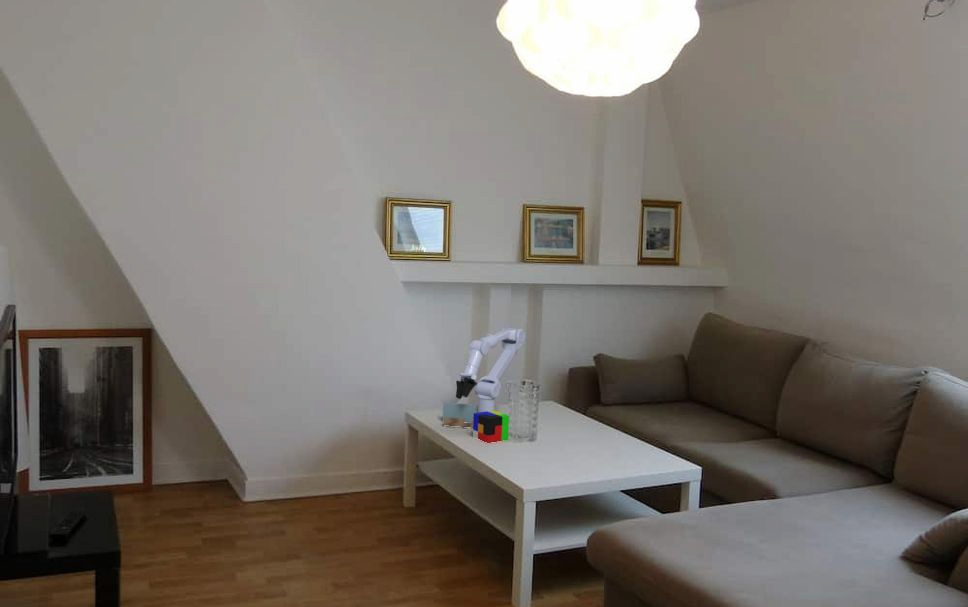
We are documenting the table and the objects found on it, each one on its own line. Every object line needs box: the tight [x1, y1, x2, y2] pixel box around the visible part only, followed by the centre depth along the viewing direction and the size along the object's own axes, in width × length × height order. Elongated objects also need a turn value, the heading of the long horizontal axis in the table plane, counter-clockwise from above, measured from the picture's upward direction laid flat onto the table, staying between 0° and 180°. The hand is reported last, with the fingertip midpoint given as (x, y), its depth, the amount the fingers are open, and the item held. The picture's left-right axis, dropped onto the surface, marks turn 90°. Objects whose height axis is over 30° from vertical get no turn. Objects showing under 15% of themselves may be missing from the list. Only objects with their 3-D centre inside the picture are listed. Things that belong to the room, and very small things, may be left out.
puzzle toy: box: [472, 410, 510, 444], centre depth 360 cm, size 10×10×10 cm
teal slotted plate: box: [442, 402, 478, 423], centre depth 383 cm, size 14×2×8 cm, turn 80°
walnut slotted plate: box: [443, 417, 473, 428], centre depth 376 cm, size 20×2×4 cm, turn 80°
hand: (461, 397), depth 378 cm, fingers open, 7 cm apart
